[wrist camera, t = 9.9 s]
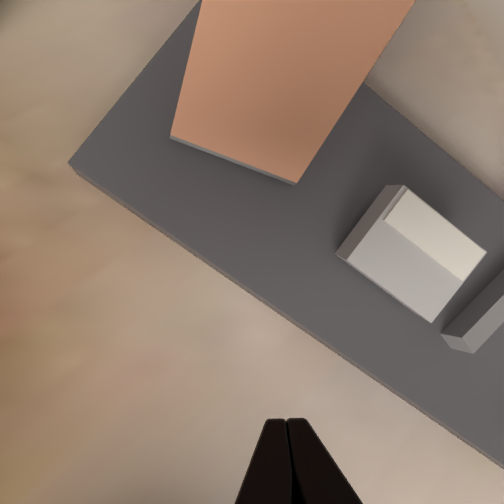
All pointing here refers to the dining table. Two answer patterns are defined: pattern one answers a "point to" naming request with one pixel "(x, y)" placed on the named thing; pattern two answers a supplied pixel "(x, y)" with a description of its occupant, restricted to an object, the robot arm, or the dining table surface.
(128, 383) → the dining table surface
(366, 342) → the control console
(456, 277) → the rocker switch
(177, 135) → the tan rectangular board
